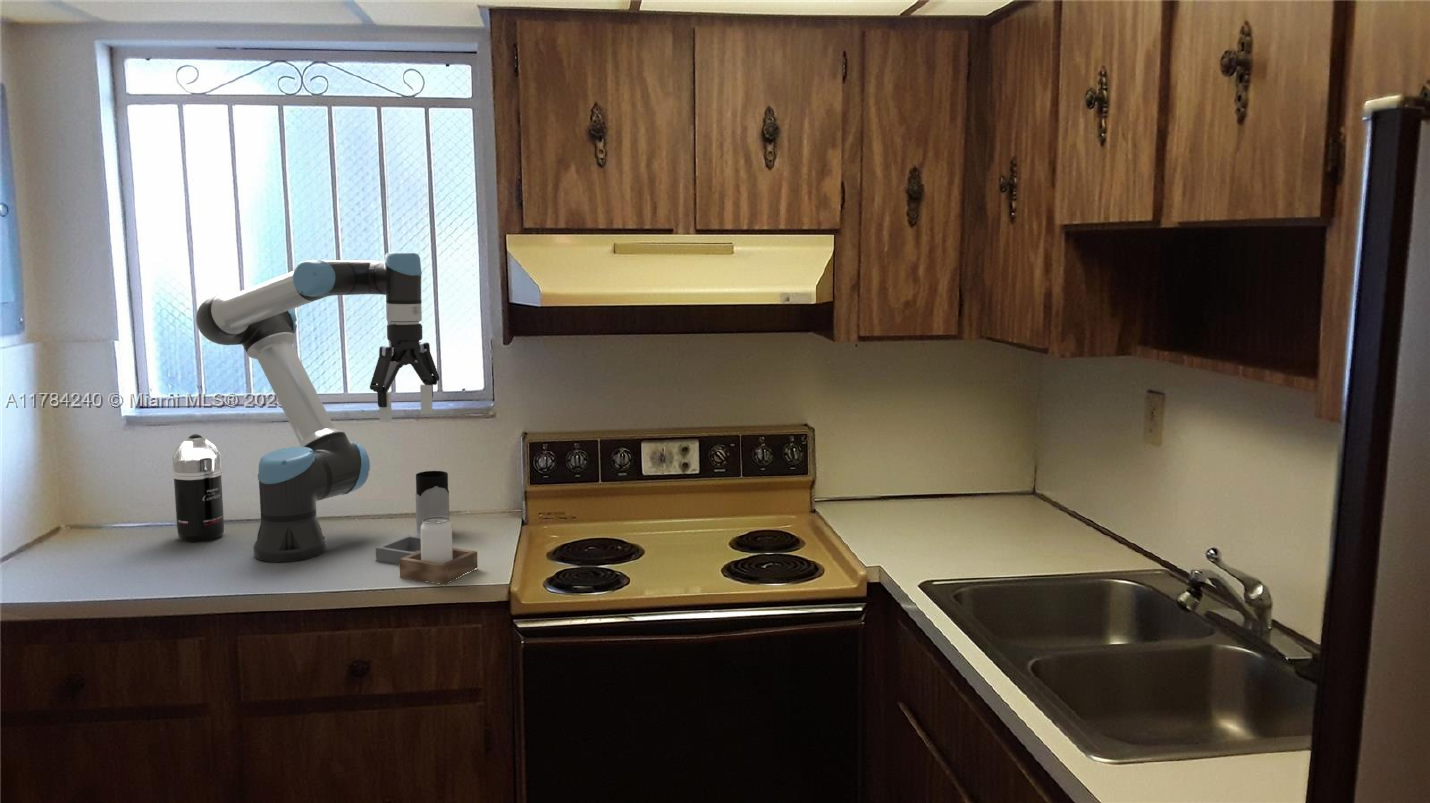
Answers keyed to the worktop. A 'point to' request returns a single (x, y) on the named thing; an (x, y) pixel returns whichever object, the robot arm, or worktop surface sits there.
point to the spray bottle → (198, 490)
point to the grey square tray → (398, 549)
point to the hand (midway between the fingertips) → (406, 417)
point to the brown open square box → (438, 567)
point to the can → (436, 540)
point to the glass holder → (431, 496)
